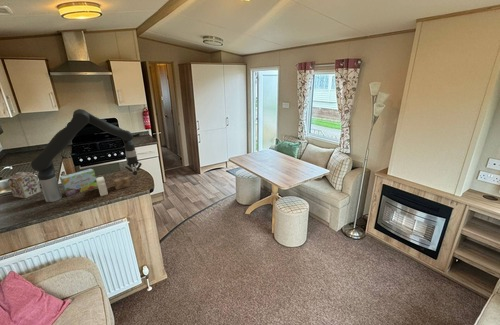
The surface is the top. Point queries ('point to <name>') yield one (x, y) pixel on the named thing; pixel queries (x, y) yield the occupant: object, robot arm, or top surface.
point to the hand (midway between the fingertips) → (135, 175)
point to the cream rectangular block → (102, 186)
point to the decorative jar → (24, 184)
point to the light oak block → (122, 183)
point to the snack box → (78, 182)
